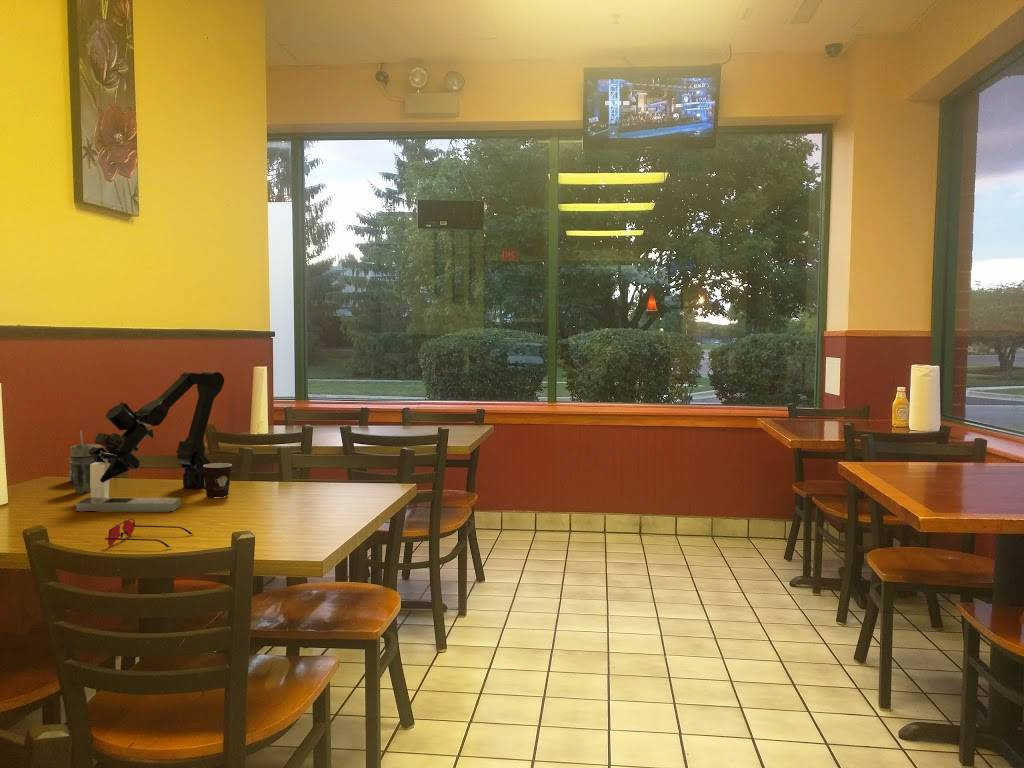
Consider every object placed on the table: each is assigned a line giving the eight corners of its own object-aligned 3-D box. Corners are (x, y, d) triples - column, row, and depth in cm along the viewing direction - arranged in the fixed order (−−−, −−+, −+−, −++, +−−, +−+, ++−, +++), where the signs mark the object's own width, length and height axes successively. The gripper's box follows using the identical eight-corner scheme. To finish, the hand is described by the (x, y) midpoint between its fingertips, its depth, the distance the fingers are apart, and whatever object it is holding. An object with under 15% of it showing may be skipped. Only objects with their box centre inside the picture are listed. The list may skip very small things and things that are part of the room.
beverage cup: (101, 490, 256) (101, 428, 255) (86, 494, 249) (86, 431, 248) (79, 489, 257) (79, 427, 256) (65, 493, 250) (64, 430, 249)
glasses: (130, 535, 204) (130, 515, 204) (195, 536, 204) (195, 517, 204) (103, 549, 190) (103, 528, 190) (172, 551, 190) (173, 530, 190)
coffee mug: (232, 493, 258) (232, 462, 257) (231, 498, 250) (231, 467, 249) (193, 494, 254) (193, 463, 253) (191, 500, 246) (191, 468, 245)
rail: (180, 506, 237) (180, 497, 237) (172, 512, 229) (172, 503, 229) (87, 506, 234) (87, 497, 233) (76, 512, 226) (76, 503, 226)
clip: (109, 501, 240) (109, 462, 239) (104, 504, 236) (104, 464, 235) (95, 501, 240) (95, 462, 239) (90, 504, 236) (90, 464, 235)
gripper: (94, 420, 245) (58, 460, 236) (131, 425, 235) (95, 467, 226) (118, 443, 252) (84, 482, 243) (155, 449, 242) (121, 490, 233)
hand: (95, 480), depth 236 cm, fingers closed on clip, 6 cm apart
